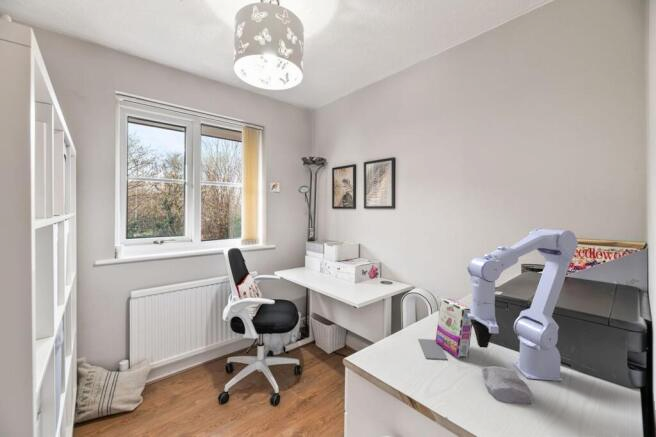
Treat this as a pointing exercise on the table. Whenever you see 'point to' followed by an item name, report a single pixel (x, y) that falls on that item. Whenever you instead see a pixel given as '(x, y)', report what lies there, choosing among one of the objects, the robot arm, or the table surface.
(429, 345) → the mat
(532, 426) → the table surface
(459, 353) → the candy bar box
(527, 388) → the stone block
